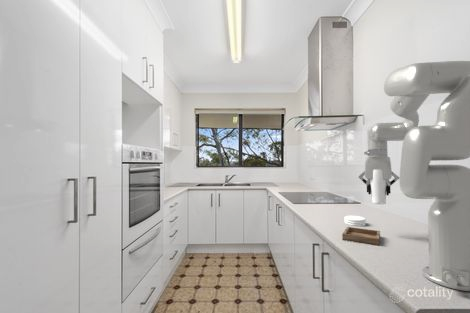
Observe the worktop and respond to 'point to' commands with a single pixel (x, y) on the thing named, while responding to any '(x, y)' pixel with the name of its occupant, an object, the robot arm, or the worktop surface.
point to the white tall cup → (378, 188)
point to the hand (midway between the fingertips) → (378, 194)
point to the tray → (361, 235)
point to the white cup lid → (355, 220)
